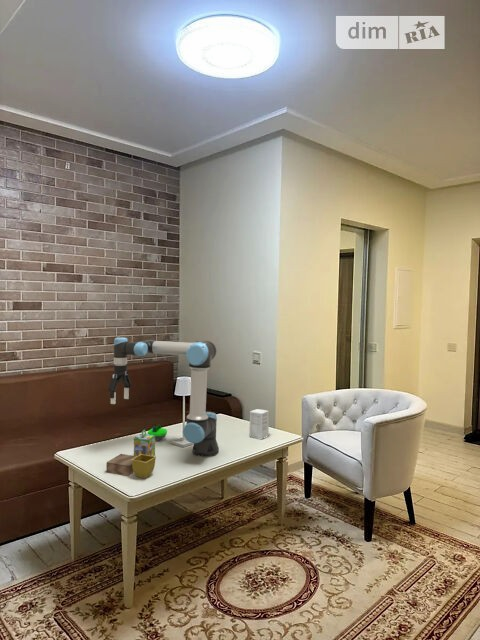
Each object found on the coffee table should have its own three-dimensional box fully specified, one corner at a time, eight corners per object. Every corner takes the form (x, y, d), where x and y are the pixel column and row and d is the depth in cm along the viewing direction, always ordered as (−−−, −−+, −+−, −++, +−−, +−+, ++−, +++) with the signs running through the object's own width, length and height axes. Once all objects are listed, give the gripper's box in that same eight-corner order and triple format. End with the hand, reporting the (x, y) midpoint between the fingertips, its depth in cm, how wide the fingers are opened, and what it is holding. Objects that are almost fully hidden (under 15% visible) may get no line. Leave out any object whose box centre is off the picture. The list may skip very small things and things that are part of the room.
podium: (142, 466, 230) (142, 457, 230) (129, 475, 217) (129, 465, 217) (120, 463, 234) (121, 453, 234) (106, 472, 221) (106, 462, 221)
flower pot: (130, 477, 216) (131, 459, 215) (140, 471, 224) (141, 453, 223) (146, 480, 213) (146, 462, 212) (155, 474, 221) (156, 456, 220)
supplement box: (268, 436, 287) (269, 410, 287) (261, 439, 280) (262, 413, 279) (256, 433, 293) (256, 408, 292) (248, 437, 285) (249, 411, 284)
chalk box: (149, 461, 238) (149, 433, 237) (133, 459, 240) (133, 432, 239) (155, 455, 247) (156, 429, 247) (140, 453, 249) (140, 427, 248)
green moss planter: (163, 443, 268) (163, 425, 267) (144, 441, 270) (145, 423, 269) (169, 437, 279) (170, 420, 279) (152, 435, 281) (152, 418, 281)
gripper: (126, 361, 267) (126, 396, 267) (101, 367, 243) (101, 405, 244) (137, 362, 264) (136, 397, 265) (113, 368, 240) (112, 406, 241)
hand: (119, 401), depth 254 cm, fingers open, 13 cm apart
